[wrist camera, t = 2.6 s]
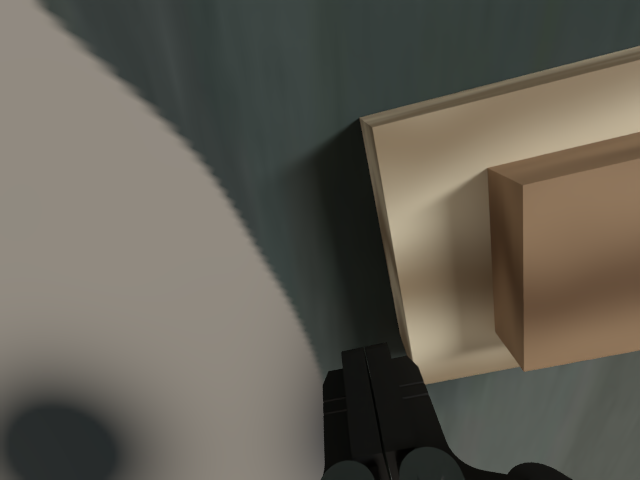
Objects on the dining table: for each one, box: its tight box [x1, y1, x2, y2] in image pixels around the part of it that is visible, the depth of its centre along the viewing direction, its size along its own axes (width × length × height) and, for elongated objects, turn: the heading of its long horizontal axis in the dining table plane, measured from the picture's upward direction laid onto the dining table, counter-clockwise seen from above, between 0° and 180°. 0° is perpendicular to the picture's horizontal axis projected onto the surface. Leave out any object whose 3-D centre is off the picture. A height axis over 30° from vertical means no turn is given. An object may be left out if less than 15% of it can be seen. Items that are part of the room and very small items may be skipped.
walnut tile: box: [487, 132, 640, 372], centre depth 14 cm, size 8×6×2 cm
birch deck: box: [360, 46, 640, 384], centre depth 16 cm, size 13×18×4 cm
